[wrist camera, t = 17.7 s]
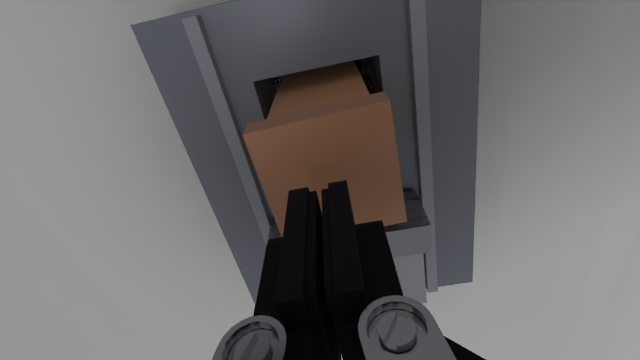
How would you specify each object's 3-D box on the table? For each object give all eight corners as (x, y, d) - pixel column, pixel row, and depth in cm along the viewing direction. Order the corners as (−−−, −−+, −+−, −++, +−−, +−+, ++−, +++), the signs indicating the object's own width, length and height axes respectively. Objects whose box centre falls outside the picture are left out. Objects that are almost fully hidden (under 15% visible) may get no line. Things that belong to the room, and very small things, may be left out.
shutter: (414, 189, 18) (431, 225, 15) (422, 289, 21) (436, 332, 19) (272, 213, 18) (265, 251, 16) (304, 306, 22) (302, 349, 20)
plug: (371, 124, 21) (407, 221, 13) (297, 141, 22) (284, 244, 13) (357, 46, 19) (390, 100, 10) (275, 66, 20) (242, 134, 11)
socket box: (440, -49, 17) (488, -60, 12) (446, 231, 26) (475, 287, 21) (175, 14, 18) (124, 26, 13) (268, 259, 27) (257, 318, 22)
